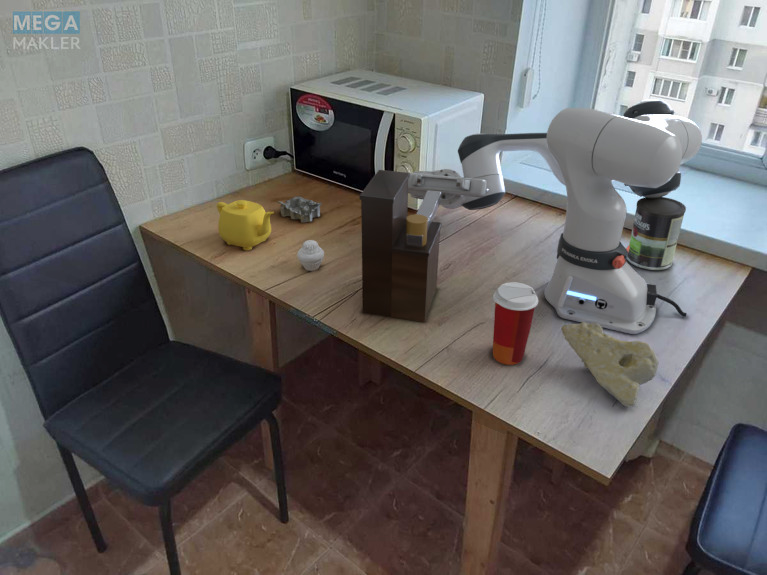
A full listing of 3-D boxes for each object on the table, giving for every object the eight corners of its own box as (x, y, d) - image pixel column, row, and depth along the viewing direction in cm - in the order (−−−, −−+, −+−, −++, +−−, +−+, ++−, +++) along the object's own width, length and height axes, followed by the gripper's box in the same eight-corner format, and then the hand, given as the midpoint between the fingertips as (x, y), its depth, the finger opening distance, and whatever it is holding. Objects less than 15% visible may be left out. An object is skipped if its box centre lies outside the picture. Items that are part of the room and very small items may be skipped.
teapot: (291, 242, 152) (288, 202, 146) (262, 260, 144) (257, 219, 138) (236, 225, 159) (231, 186, 154) (205, 242, 151) (199, 202, 146)
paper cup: (523, 342, 117) (533, 280, 110) (533, 368, 111) (544, 303, 103) (482, 343, 117) (490, 280, 109) (490, 369, 110) (498, 304, 103)
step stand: (425, 323, 122) (431, 203, 109) (361, 313, 125) (359, 195, 111) (437, 288, 134) (444, 176, 120) (378, 280, 136) (378, 169, 123)
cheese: (664, 411, 104) (655, 326, 109) (662, 404, 98) (653, 315, 103) (571, 412, 110) (567, 332, 115) (564, 406, 104) (560, 321, 109)
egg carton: (276, 214, 165) (275, 200, 163) (295, 205, 170) (294, 192, 168) (305, 225, 160) (304, 210, 158) (324, 215, 165) (323, 201, 163)
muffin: (329, 269, 140) (328, 242, 136) (305, 276, 137) (303, 249, 134) (317, 258, 145) (316, 232, 141) (293, 265, 142) (291, 238, 138)
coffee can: (639, 272, 140) (650, 216, 133) (618, 252, 149) (628, 198, 142) (681, 268, 141) (695, 212, 134) (658, 248, 150) (670, 194, 143)
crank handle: (424, 248, 116) (425, 224, 113) (403, 245, 116) (404, 222, 114) (442, 202, 134) (444, 180, 131) (424, 200, 134) (425, 179, 132)
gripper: (487, 204, 148) (483, 199, 134) (405, 196, 152) (393, 190, 139) (490, 178, 147) (487, 170, 134) (408, 171, 152) (396, 162, 138)
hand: (438, 180), depth 136 cm, fingers open, 8 cm apart
